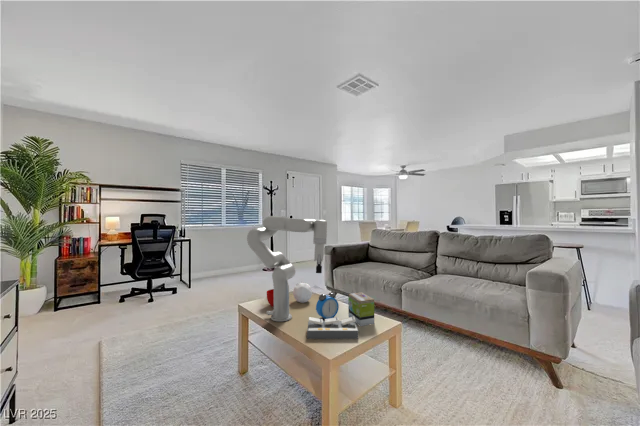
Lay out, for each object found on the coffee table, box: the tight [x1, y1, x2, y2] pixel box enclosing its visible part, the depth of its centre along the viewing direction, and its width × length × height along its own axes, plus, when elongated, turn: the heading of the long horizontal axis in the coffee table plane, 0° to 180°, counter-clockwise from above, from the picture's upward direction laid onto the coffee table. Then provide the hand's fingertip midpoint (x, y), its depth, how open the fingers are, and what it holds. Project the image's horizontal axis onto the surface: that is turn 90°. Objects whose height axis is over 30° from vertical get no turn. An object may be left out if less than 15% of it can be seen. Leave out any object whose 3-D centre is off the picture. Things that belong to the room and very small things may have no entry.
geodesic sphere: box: [292, 281, 313, 304], centre depth 200 cm, size 15×14×14 cm
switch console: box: [306, 320, 359, 340], centre depth 148 cm, size 26×13×5 cm, turn 90°
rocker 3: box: [340, 316, 356, 325], centre depth 149 cm, size 7×4×1 cm, turn 90°
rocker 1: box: [308, 316, 324, 325], centre depth 149 cm, size 7×4×1 cm, turn 90°
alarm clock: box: [315, 292, 340, 321], centre depth 169 cm, size 13×6×15 cm, turn 121°
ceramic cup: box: [266, 288, 274, 308], centre depth 193 cm, size 13×17×10 cm
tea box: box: [347, 292, 375, 327], centre depth 165 cm, size 15×10×15 cm
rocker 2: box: [324, 316, 340, 325], centre depth 149 cm, size 7×4×1 cm, turn 90°
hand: (318, 272), depth 160 cm, fingers closed
